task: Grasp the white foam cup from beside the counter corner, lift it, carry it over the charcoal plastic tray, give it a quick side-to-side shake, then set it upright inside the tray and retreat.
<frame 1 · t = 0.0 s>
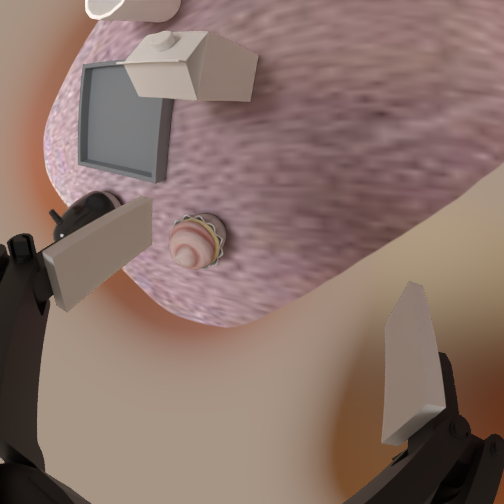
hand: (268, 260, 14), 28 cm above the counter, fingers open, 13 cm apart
foam cup: (165, 6, 32), on the counter
milk carton: (232, 75, 35), on the counter
cupcake: (209, 230, 48), on the counter
pump dispenser: (113, 208, 54), on the counter
tray: (125, 115, 43), on the counter
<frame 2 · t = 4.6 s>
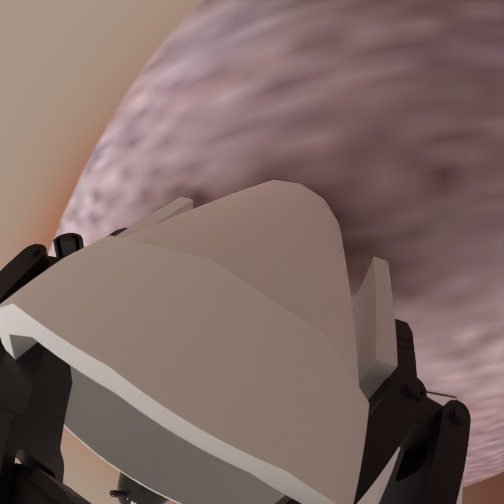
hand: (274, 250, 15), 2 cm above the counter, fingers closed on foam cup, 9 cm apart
foam cup: (283, 235, 16), on the counter, touching gripper
milk carton: (402, 411, 19), on the counter
pump dispenser: (173, 439, 38), on the counter
when the fingers open (4 cm above the counter, at t = 12.9 s): foam cup drops 1 cm, resting on tray.
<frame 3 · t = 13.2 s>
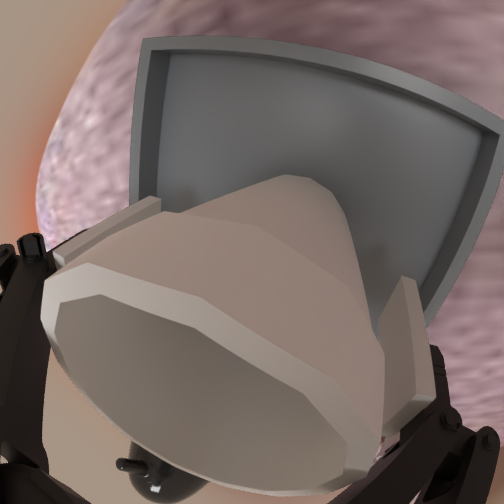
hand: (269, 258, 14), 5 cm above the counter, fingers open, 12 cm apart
foam cup: (293, 226, 17), point 1 cm above the counter, touching tray
pump dispenser: (218, 377, 28), on the counter
tray: (291, 220, 18), on the counter
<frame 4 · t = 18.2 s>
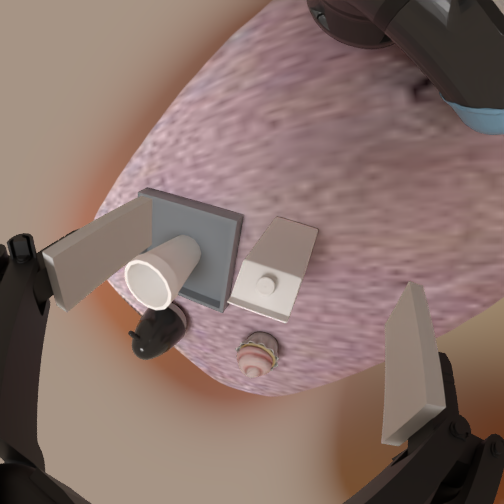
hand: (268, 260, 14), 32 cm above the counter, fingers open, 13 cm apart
foam cup: (187, 249, 55), point 1 cm above the counter, touching tray
milk carton: (292, 240, 48), on the counter
cupcake: (263, 341, 61), on the counter
pump dispenser: (174, 311, 67), on the counter
tray: (187, 247, 56), on the counter
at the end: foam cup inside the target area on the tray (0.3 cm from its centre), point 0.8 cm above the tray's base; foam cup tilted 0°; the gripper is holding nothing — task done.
